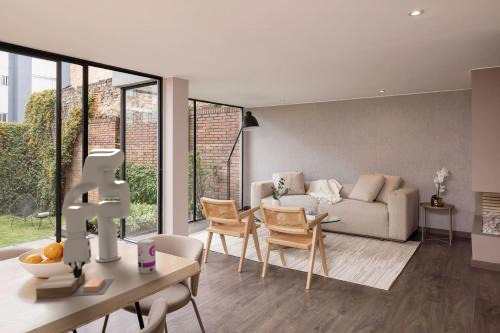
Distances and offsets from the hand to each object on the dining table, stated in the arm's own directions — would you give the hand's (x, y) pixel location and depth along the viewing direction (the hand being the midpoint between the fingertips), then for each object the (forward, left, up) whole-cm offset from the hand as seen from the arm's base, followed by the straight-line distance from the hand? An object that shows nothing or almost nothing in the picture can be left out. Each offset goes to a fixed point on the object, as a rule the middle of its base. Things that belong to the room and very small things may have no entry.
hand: (77, 276), depth 141 cm
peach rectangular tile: (+1, +7, -3) cm, 7 cm away
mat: (0, +6, -5) cm, 8 cm away
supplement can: (-16, +26, -5) cm, 31 cm away
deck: (0, -7, -5) cm, 8 cm away
